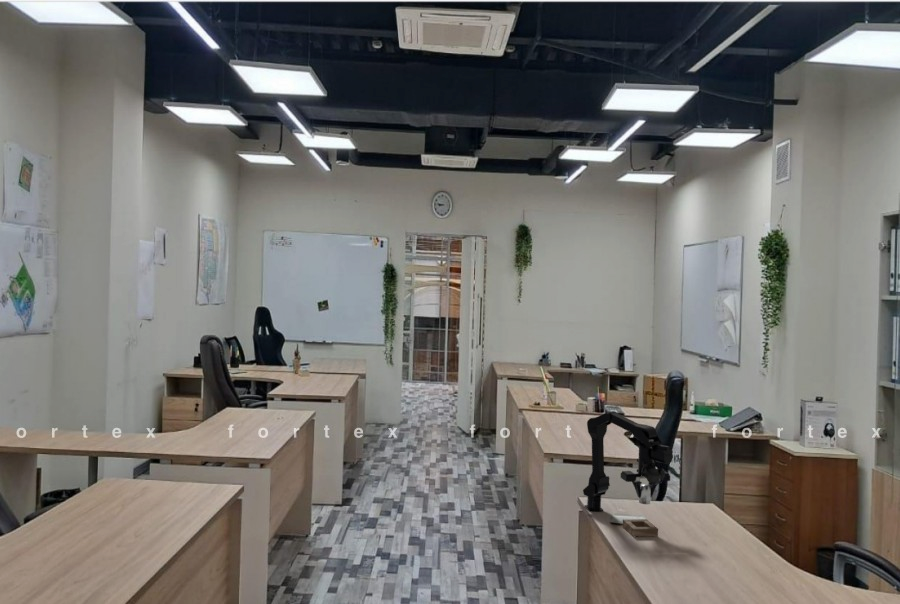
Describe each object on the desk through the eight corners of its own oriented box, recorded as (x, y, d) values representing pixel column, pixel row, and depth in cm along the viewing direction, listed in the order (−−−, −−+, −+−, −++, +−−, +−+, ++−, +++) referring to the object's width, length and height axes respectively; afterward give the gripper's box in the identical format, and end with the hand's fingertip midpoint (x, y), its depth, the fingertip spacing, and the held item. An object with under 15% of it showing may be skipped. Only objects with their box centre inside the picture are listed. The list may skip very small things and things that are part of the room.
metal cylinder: (636, 500, 253) (637, 483, 253) (647, 500, 254) (647, 483, 254) (642, 504, 249) (642, 486, 249) (652, 504, 249) (653, 486, 249)
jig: (622, 527, 252) (622, 519, 251) (646, 526, 253) (646, 519, 253) (633, 536, 242) (633, 529, 242) (657, 536, 243) (658, 528, 243)
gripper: (633, 464, 241) (631, 504, 242) (678, 463, 245) (676, 503, 245) (620, 456, 252) (619, 495, 253) (663, 456, 256) (662, 494, 256)
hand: (644, 497), depth 251 cm, fingers closed on metal cylinder, 4 cm apart
